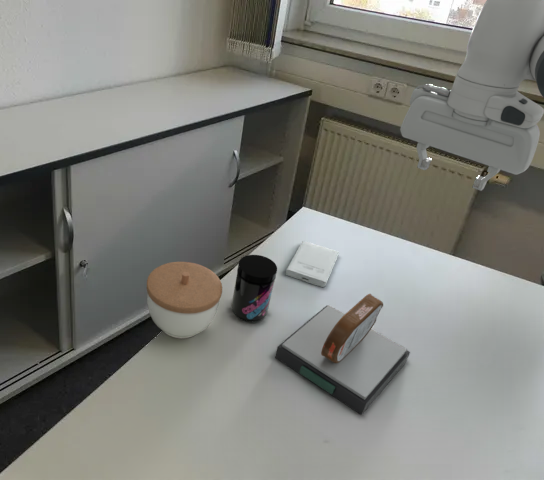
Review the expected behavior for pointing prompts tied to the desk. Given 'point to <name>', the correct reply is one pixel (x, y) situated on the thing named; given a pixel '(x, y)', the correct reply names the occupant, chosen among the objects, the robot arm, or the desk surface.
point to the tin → (351, 329)
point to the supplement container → (253, 287)
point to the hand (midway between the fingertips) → (449, 178)
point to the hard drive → (312, 263)
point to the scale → (343, 361)
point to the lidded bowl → (183, 298)
